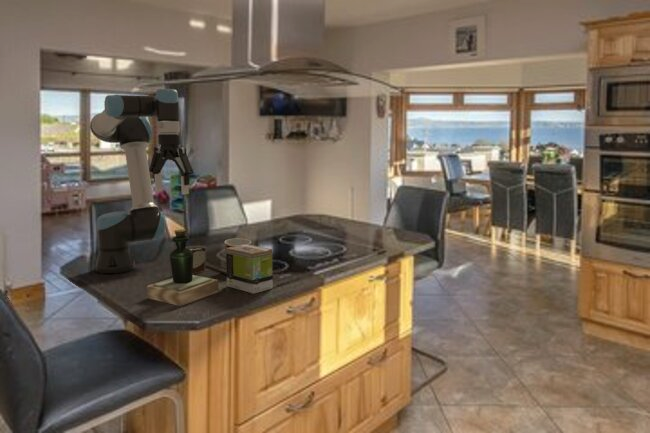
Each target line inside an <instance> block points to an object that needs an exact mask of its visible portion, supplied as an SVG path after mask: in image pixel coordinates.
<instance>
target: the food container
mask: <svg viewBox="0 0 650 433" xmlns="http://www.w3.org/2000/svg"><path fill="white" fill-rule="evenodd" d="M185 248H187V249H189V250H191V251H192V252H193V275H194V274H195V275H196V274H199V273H202V272H205V271H206V258H207V257H206V256H207V255H206V254H207V252H208V249H207V248H208V247H206V246H204V245H192V246H191V245H190V246H186V247H185Z"/></svg>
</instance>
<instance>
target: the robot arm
mask: <svg viewBox="0 0 650 433" xmlns="http://www.w3.org/2000/svg"><path fill="white" fill-rule="evenodd" d="M178 92H179V91H177V89H174V88H159V89H156V91H155V95H132V94H130V95H127V94H125V95H124V94H122V95H121V94H111V95H110V94H109V95H108V94H107V95H106V96H105V98H104V101H103V102H104V104H103V106H104V109H103V110H102V111H101V112H100V113H97V114H95V115H94V116H93V117H92V119H91V120H90V123H89V128H90V131H91V133H92V134H93V136H94V137H95V138H97V140H100V141H102V142H105V143H111V144H112V143H113V144H114V143H115V144H118V143H119V145H120V149H121V150H123V151H124V156H125V162H126V167H127V173H128V181H129V188H130V195H131V201H132V202H131V203H132V207H131V208H130V209H129V213H127V212H126V211H123V210H121V211H113V212H108V213H103V214H101V215H100V216H99V217H98V218H96V232H97V233H96V234H97V245H98V246H97V247H98V253H97V254H98V255H97V258H96V262H95V272H96V271H97V272H96V273H98V272H101V273H100V274H102V273H115V274H120V273H121V274H122V273H126V272H130V271H132V270H134V269H135V265H136V263H135V261H134V258H133V256H132V254H131V250H130V243H137V242H144V241H145V242H146V241H153V240H158V239H161V238H162V237H163V236H164V234H165V233H164V232H165V230H166V216H165V213H164V212H163V211H161V210H159V209H160V208H159V206H158V205H156V204H155V201H154V195H153V187H152V183H151V182H152V181H151V175H150V173H152V174H153V182H154V187H155V188H154V190H155V191H154V192H155V193H160V192H163V191H164V190H163V175H162V173H161V171H162V170H163V168H164V166H165V164H166V162H167V161H173V162H174V163H175V165H176V167H177V168H178V170H179V171H180V174H181V175H180V184H181V185H180V186H181V187H180V188H181V196H182V195H189V194H190V188H189V187H190V176H192V175H193V174H194V169H193V167H192V164H191V161H190V159H189V157H188V155H187V148H186V147H179V146H180V145H181V135H180V132H181V129H180V128H181V127H180V111H179V110H180V107H179V101H180V100H179V99H180V98H179V94H178ZM151 117H152V118H157V119H156V120H157V133H159V134H158V135H157V140H158V145H159V146H154V148H153V154H152V157H151V158H152V159H151V162H150V166H149V161H148V160H149V159H148V152H147V149H148V147H149V146H150V144H149V143H150V142H151V141H152V140H153V129H152V125H151V122H150V120H149V119H148V118H151Z"/></svg>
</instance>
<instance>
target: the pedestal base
mask: <svg viewBox="0 0 650 433" xmlns="http://www.w3.org/2000/svg"><path fill="white" fill-rule="evenodd" d="M146 292H147V299H148V300H153V301H158V302H162V303H165V304H171V305H175V306H179V307H182V306H185V305H187V304H190V303H193V302H196V301H198V300H201V299H204V298H207V297H208V296H212V295H213V294H216V293H219V292H220V291H219V279H216V278H215V279H214V278H211V277H207V276H206V277H204V276H200V275H196V274H195V275H194V274H193V278H192V281H191V282H189V283H184V284H178V283H175V282H173V277H171V278H168V279H164V280H160V281H158V282H155V283H152V284H149V285H147V286H146Z"/></svg>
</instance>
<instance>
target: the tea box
mask: <svg viewBox="0 0 650 433" xmlns="http://www.w3.org/2000/svg"><path fill="white" fill-rule="evenodd" d="M225 259H226V262H225V264H226V265H225V267H226V286H227V287H228V288H233V289H236V290H240V291H243V292H246V293H250V294H258V293H260V292H265V291H268V290H272V289H273V287H274V286H273V285H274V282H273V280H274V279H273V278H274V276H273V274H274V273H273V272H274V271H273V249H272V248H267V247H263V246H262V247H261V246H257V245H253V244H252V245H251V244H250V245H247V244H244V245H239V246H234V247H229V248H226V247H225Z"/></svg>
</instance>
